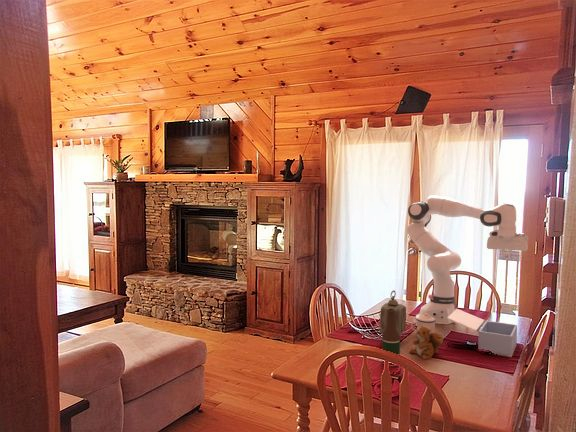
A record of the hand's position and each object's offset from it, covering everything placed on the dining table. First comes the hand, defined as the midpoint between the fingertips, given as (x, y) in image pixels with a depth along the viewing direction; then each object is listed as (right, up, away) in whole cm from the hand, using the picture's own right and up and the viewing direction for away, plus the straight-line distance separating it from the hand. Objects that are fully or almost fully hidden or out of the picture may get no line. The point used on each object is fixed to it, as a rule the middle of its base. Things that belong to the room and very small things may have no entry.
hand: (506, 258), depth 252 cm
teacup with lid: (-51, -39, -16) cm, 66 cm away
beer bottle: (-76, -41, -54) cm, 102 cm away
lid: (-33, -27, -28) cm, 51 cm away
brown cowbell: (-68, -39, -22) cm, 81 cm away
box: (-21, -40, -34) cm, 56 cm away
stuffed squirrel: (-57, -41, -42) cm, 82 cm away
